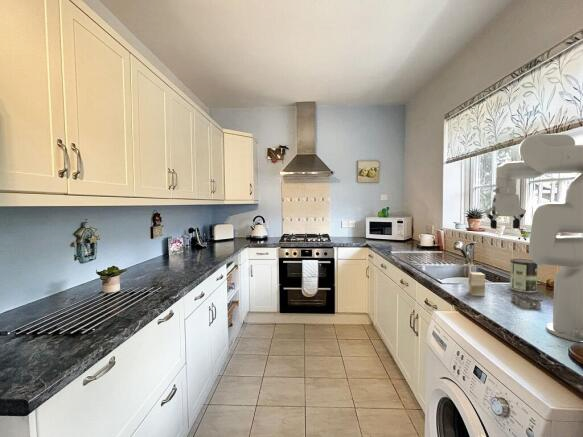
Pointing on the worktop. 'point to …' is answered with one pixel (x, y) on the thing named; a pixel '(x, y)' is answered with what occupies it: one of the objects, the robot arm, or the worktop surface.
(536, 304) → the egg carton
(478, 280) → the maple block
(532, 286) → the coffee can
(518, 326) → the worktop surface
